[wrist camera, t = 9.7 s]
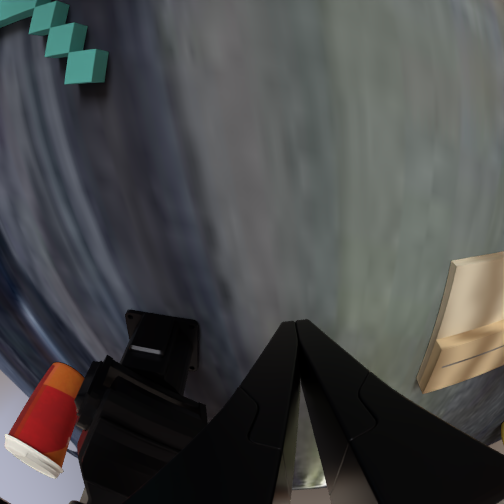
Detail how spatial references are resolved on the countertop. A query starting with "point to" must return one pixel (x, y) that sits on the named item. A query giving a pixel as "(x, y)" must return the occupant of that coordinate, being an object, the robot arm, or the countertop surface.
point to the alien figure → (59, 37)
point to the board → (467, 324)
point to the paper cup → (47, 421)
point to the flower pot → (502, 431)
